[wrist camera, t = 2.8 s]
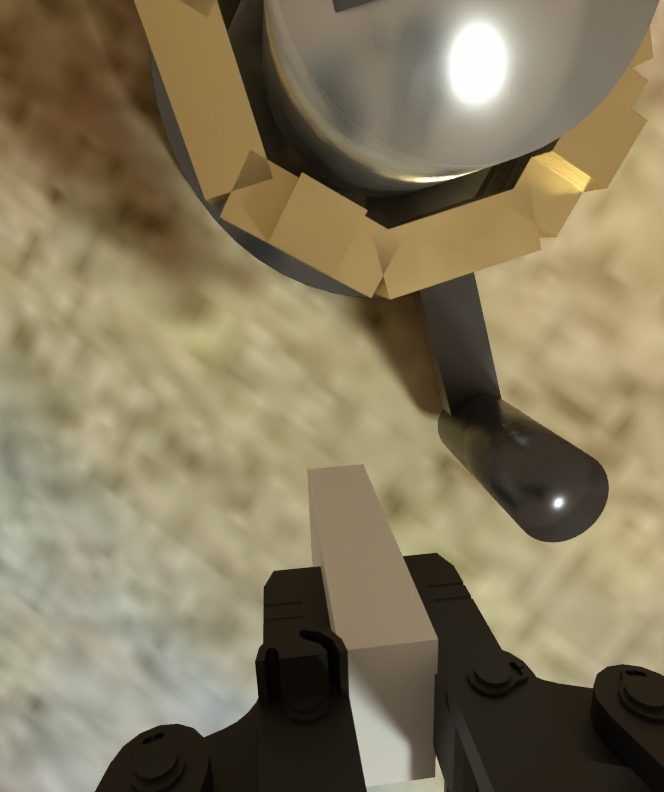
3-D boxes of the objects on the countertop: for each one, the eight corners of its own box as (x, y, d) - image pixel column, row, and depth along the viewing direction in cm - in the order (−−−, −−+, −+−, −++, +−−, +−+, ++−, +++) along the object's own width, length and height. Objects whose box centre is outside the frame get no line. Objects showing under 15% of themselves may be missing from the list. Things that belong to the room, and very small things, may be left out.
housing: (245, 346, 21) (235, 427, 12) (76, -119, 16) (-161, -592, 7) (605, 227, 21) (868, 214, 12) (538, -252, 17) (875, -848, 8)
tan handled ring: (95, -128, 15) (-22, -394, 9) (544, -258, 16) (738, -597, 9) (320, 508, 21) (346, 618, 15) (634, 400, 22) (785, 462, 16)
